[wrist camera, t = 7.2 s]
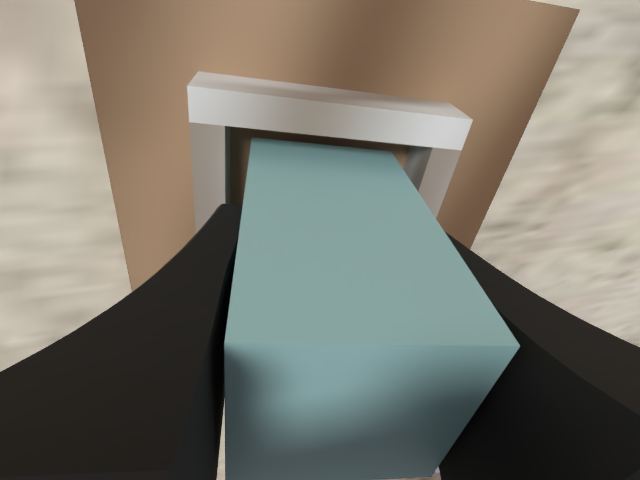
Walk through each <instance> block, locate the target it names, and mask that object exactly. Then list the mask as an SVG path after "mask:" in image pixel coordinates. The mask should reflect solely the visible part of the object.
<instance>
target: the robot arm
mask: <svg viewBox="0 0 640 480" xmlns="http://www.w3.org/2000/svg"><path fill="white" fill-rule="evenodd" d="M242 207H243V205H237V204H221V205H220V206H219V207H218V208H217V209H216V210H215V212H214V213H213V214H212V216H211V217H210V218H209V219H208V221H207V222H206V223H205V224H204V225H203V226H202V228H201V229H200V230H199V231H198V232H197V233H196V234H195V235H194V236H193V237H192V238H191V240H190V241H189V242H188V243H187V244H186V245H185V246H184V247H183V248H182V249H181V250H180V251H179V252H178V253H177V254H176V255H175V256H174V257H173V258H171V259H170V260H169V261H168V262H167V263H166V264H165V265H164V266H163V267H162V268H161V269H160V270H159V271H157V272H156V273H155V274H154V275H153V276H152V277H150V278H149V279H148V280H147V281H146V282H144V283H143V284H142V285H141V286H139V287H138V288H137V289H135V290H134V291H133V292H131V293H130V294H129V295H128V296H126V297H125V298H124V299H122V300H121V301H119V302H118V303H117V304H115V305H114V306H112V307H111V308H109V309H108V310H106V311H105V312H103V313H101V314H100V315H98V316H97V317H95V318H94V319H92V320H91V321H89V322H88V323H86V324H84V325H83V326H81V327H80V328H78V329H77V330H75V331H73V332H72V333H70V334H68V335H67V336H65V337H63V338H62V339H60V340H58V341H56V342H55V343H53V344H51V345H49V346H48V347H46V348H44V349H42V350H41V351H39V352H37V353H35V354H33V355H31V356H29V357H28V358H26V359H24V360H22V361H20V362H18V363H16V364H15V365H13V366H11V367H9V368H7V369H5V370H3V371H1V372H0V480H216V478H217V468H218V457H219V447H220V437H221V427H222V417H223V408H224V398H225V367H224V341H225V334H226V326H227V319H228V312H229V304H230V297H231V289H232V282H233V274H234V267H235V259H236V252H237V244H238V237H239V229H240V222H241V214H242ZM444 232H445V231H444ZM445 233H446V232H445ZM446 235H447V236H448V238H449V239H450V241H451V242H452V244H453V245H454V247H455V248H456V250H457V251H458V253H459V254H460V256H461V257H462V259H463V260H464V262H465V263H466V265H467V266H468V268H469V269H470V271H471V272H472V274H473V275H474V277H475V278H476V280H477V281H478V283H479V284H480V286H481V287H482V289H483V290H484V292H485V293H486V295H487V297H488V298H489V300H490V301H491V303H492V304H493V306H494V307H495V309H496V310H497V312H498V313H499V315H500V316H501V318H502V319H503V321H504V322H505V324H506V325H507V327H508V328H509V330H510V331H511V333H512V334H513V336H514V337H515V339H516V340H517V342H518V343H519V345H520V347H519V349H518V350H517V352H516V353H515V355H514V356H513V358H512V359H511V361H510V362H509V363H508V365H507V366H506V368H505V369H504V371H503V372H502V374H501V375H500V377H499V378H498V380H497V381H496V382H495V384H494V385H493V387H492V388H491V390H490V391H489V393H488V394H487V396H486V397H485V399H484V400H483V402H482V403H481V404H480V406H479V407H478V409H477V410H476V412H475V413H474V415H473V416H472V418H471V419H470V421H469V422H468V424H467V425H466V426H465V428H464V429H463V431H462V432H461V434H460V435H459V437H458V438H457V440H456V441H455V443H454V444H453V445H452V447H451V448H450V450H449V451H448V453H447V454H446V456H445V457H444V459H443V460H442V462H441V463H440V465H439V466H438V467H437V469H436V470H435V473H440V475H441V480H640V347H638V346H635V345H633V344H631V343H629V342H626V341H624V340H622V339H620V338H618V337H616V336H614V335H612V334H610V333H608V332H606V331H604V330H602V329H600V328H597V327H595V326H593V325H591V324H589V323H587V322H585V321H583V320H582V319H580V318H578V317H576V316H574V315H572V314H570V313H568V312H567V311H565V310H563V309H561V308H559V307H558V306H556V305H554V304H552V303H551V302H549V301H547V300H545V299H544V298H542V297H540V296H538V295H537V294H535V293H533V292H532V291H530V290H528V289H527V288H525V287H524V286H522V285H521V284H519V283H518V282H516V281H515V280H513V279H511V278H510V277H508V276H507V275H505V274H504V273H502V272H501V271H499V270H498V269H496V268H495V267H494V266H492V265H491V264H489V263H488V262H486V261H485V260H484V259H482V258H481V257H479V256H478V255H477V254H475V253H474V252H472V251H471V250H470V249H468V248H467V247H466V246H464V245H463V244H461V243H460V242H459V241H457V240H456V239H455V238H453V237H452V236H451V235H449V234H448V233H446Z"/></svg>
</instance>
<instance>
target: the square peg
mask: <svg viewBox="0 0 640 480" xmlns="http://www.w3.org/2000/svg"><path fill="white" fill-rule="evenodd" d="M519 347H520V345H519V343H518V342H517V340H516V339H515V337H514V336H513V334H512V333H511V331H510V330H509V328H508V327H507V325H506V324H505V322H504V321H503V319H502V318H501V316H500V315H499V313H498V312H497V310H496V309H495V307H494V306H493V304H492V303H491V301H490V300H489V298H488V297H487V295H486V293H485V292H484V290H483V289H482V287H481V286H480V284H479V283H478V281H477V280H476V278H475V277H474V275H473V274H472V272H471V271H470V269H469V268H468V266H467V265H466V263H465V262H464V260H463V259H462V257H461V256H460V254H459V253H458V251H457V250H456V248H455V247H454V245H453V244H452V242H451V241H450V239H449V238H448V236H447V235H446V233H445V232H444V230H443V229H442V227H441V226H440V224H439V223H438V221H437V220H436V218H435V217H434V215H433V214H432V212H431V211H430V209H429V208H428V206H427V204H426V203H425V201H424V200H423V198H422V197H421V195H420V194H419V192H418V191H417V189H416V188H415V186H414V185H413V183H412V182H411V180H410V179H409V177H408V176H407V174H406V173H405V171H404V170H403V168H402V167H401V165H400V164H399V162H398V161H397V159H396V158H395V156H394V155H393V153H392V152H391V151H383V150H373V149H363V148H353V147H343V146H333V145H323V144H313V143H303V142H293V141H283V140H273V139H263V138H253V137H252V140H251V147H250V155H249V162H248V170H247V177H246V185H245V192H244V200H243V207H242V214H241V222H240V229H239V237H238V244H237V252H236V259H235V267H234V274H233V282H232V289H231V297H230V304H229V312H228V319H227V326H226V334H225V341H224V367H225V480H376V479H396V478H415V477H431V476H432V475H433V473H434V472H435V470H436V469H437V467H438V466H439V465H440V463H441V462H442V460H443V459H444V457H445V456H446V454H447V453H448V451H449V450H450V448H451V447H452V445H453V444H454V443H455V441H456V440H457V438H458V437H459V435H460V434H461V432H462V431H463V429H464V428H465V426H466V425H467V424H468V422H469V421H470V419H471V418H472V416H473V415H474V413H475V412H476V410H477V409H478V407H479V406H480V404H481V403H482V402H483V400H484V399H485V397H486V396H487V394H488V393H489V391H490V390H491V388H492V387H493V385H494V384H495V382H496V381H497V380H498V378H499V377H500V375H501V374H502V372H503V371H504V369H505V368H506V366H507V365H508V363H509V362H510V361H511V359H512V358H513V356H514V355H515V353H516V352H517V350H518V349H519Z"/></svg>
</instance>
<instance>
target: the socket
mask: <svg viewBox="0 0 640 480" xmlns="http://www.w3.org/2000/svg"><path fill="white" fill-rule="evenodd" d="M74 1H75V6H76V11H77V16H78V21H79V26H80V31H81V36H82V41H83V46H84V52H85V57H86V62H87V67H88V72H89V77H90V82H91V87H92V92H93V97H94V102H95V107H96V112H97V117H98V122H99V127H100V132H101V137H102V142H103V148H104V153H105V158H106V163H107V168H108V173H109V178H110V183H111V188H112V193H113V198H114V203H115V208H116V213H117V218H118V223H119V228H120V233H121V238H122V244H123V249H124V254H125V259H126V264H127V269H128V274H129V279H130V284H131V289H132V292H133V291H134V290H135V289H137V288H138V287H139V286H141V285H142V284H143V283H144V282H146V281H147V280H148V279H149V278H150V277H152V276H153V275H154V274H155V273H156V272H157V271H159V270H160V269H161V268H162V267H163V266H164V265H165V264H166V263H167V262H168V261H169V260H170V259H171V258H173V257H174V256H175V255H176V254H177V253H178V252H179V251H180V250H181V249H182V248H183V247H184V246H185V245H186V244H187V243H188V242H189V241H190V240H191V238H192V237H193V236H194V235H195V234H196V233H197V232H198V231H199V230H200V229H201V228H202V226H203V225H204V224H205V223H206V222H207V221H208V219H209V218H210V217H211V216H212V214H213V213H214V212H215V210H216V209H217V208H218V207H219V206H220V205H221V204H237V205H243V200H244V192H245V185H246V177H247V170H248V162H249V155H250V147H251V140H252V137H253V138H263V139H273V140H283V141H293V142H303V143H313V144H323V145H333V146H343V147H353V148H363V149H373V150H383V151H391V152H392V153H393V155H394V156H395V158H396V159H397V161H398V162H399V164H400V165H401V167H402V168H403V170H404V171H405V173H406V174H407V176H408V177H409V179H410V180H411V182H412V183H413V185H414V186H415V188H416V189H417V191H418V192H419V194H420V195H421V197H422V198H423V200H424V201H425V203H426V204H427V206H428V208H429V209H430V211H431V212H432V214H433V215H434V217H435V218H436V220H437V221H438V223H439V224H440V226H441V227H442V229H443V230H444V231H445V232H446V233H448V234H449V235H451V236H452V237H453V238H455V239H456V240H457V241H459V242H460V243H461V244H463V245H464V246H466V247H467V248H468V249H470V248H471V246H472V244H473V241H474V239H475V237H476V235H477V233H478V231H479V228H480V226H481V224H482V222H483V220H484V218H485V215H486V213H487V211H488V209H489V207H490V204H491V202H492V200H493V198H494V196H495V194H496V191H497V189H498V187H499V185H500V183H501V181H502V178H503V176H504V174H505V172H506V170H507V168H508V165H509V163H510V161H511V159H512V157H513V154H514V152H515V150H516V148H517V146H518V144H519V141H520V139H521V137H522V135H523V133H524V131H525V128H526V126H527V124H528V122H529V120H530V118H531V115H532V113H533V111H534V109H535V107H536V105H537V102H538V100H539V98H540V96H541V94H542V91H543V89H544V87H545V85H546V83H547V81H548V78H549V76H550V74H551V72H552V70H553V68H554V65H555V63H556V61H557V59H558V57H559V55H560V52H561V50H562V48H563V46H564V44H565V42H566V39H567V37H568V35H569V33H570V31H571V28H572V26H573V24H574V22H575V20H576V18H577V15H578V13H579V11H580V10H579V9H573V8H568V7H562V6H557V5H551V4H546V3H540V2H535V1H529V0H74Z"/></svg>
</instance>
